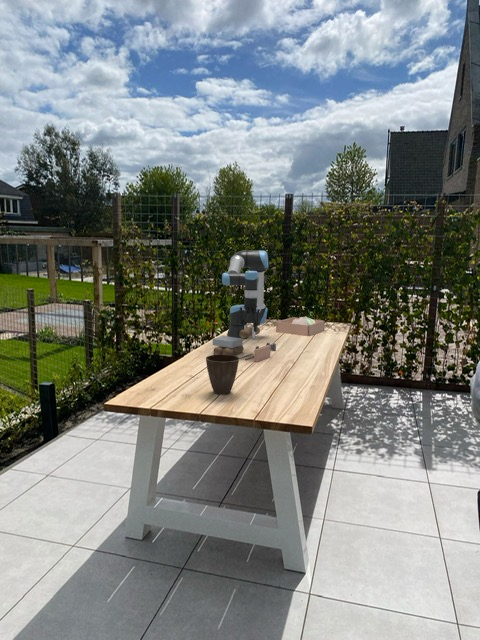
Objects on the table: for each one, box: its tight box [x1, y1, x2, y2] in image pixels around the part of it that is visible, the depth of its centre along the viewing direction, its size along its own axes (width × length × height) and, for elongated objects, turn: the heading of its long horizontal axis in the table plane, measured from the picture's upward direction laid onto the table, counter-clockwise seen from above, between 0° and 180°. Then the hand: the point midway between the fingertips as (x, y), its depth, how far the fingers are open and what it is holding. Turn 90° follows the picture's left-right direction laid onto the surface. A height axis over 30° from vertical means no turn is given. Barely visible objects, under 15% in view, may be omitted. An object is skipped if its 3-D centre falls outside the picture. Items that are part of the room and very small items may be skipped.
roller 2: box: [222, 344, 244, 356], centre depth 299 cm, size 16×5×5 cm, turn 149°
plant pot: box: [205, 354, 240, 396], centre depth 221 cm, size 15×15×16 cm
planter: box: [275, 316, 326, 337], centre depth 384 cm, size 30×27×8 cm
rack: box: [254, 342, 277, 352], centre depth 307 cm, size 16×6×4 cm, turn 149°
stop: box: [253, 345, 271, 363], centre depth 288 cm, size 16×2×7 cm, turn 149°
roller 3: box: [239, 326, 261, 339], centre depth 291 cm, size 16×5×5 cm, turn 149°
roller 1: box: [213, 346, 227, 355], centre depth 302 cm, size 16×5×5 cm, turn 149°
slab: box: [212, 335, 244, 348], centre depth 300 cm, size 12×14×4 cm
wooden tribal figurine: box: [292, 315, 315, 325], centre depth 384 cm, size 14×14×24 cm
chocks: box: [212, 351, 254, 361], centre depth 298 cm, size 16×23×1 cm
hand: (249, 336), depth 291 cm, fingers closed on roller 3, 5 cm apart
